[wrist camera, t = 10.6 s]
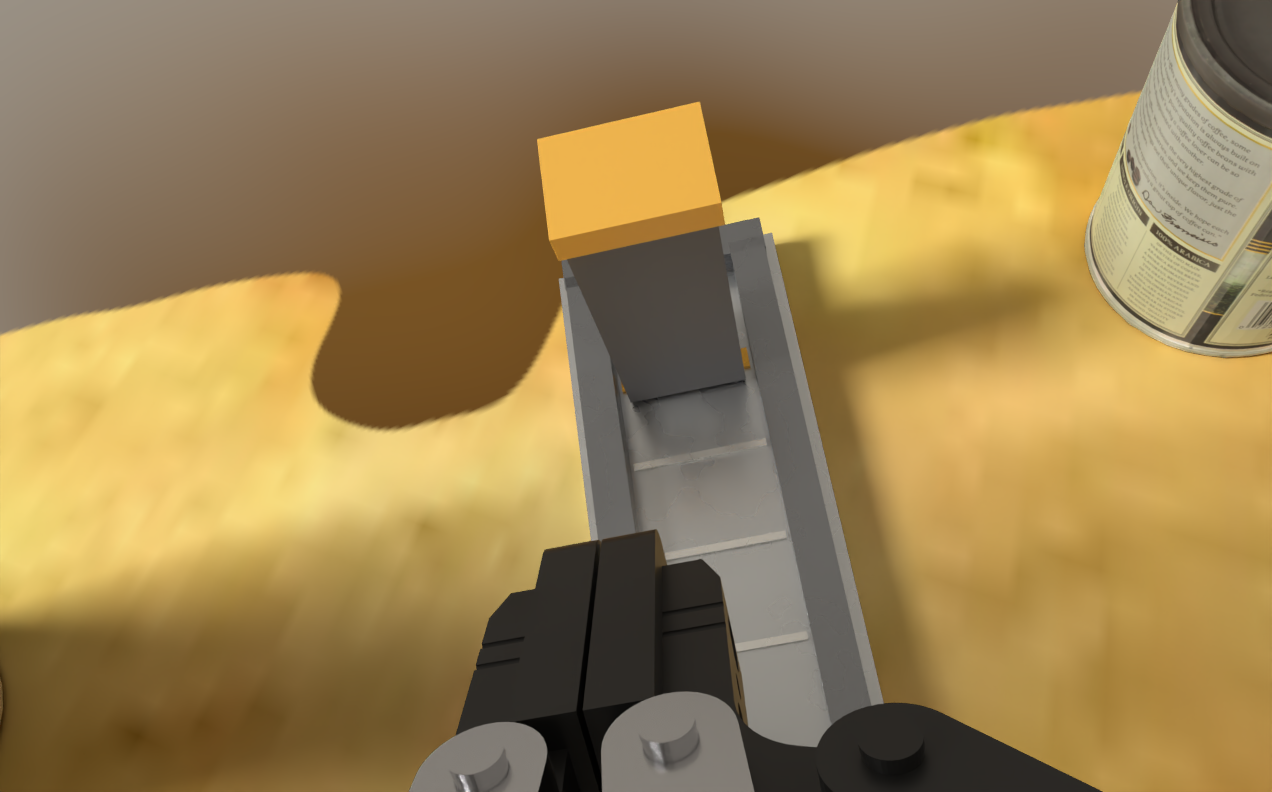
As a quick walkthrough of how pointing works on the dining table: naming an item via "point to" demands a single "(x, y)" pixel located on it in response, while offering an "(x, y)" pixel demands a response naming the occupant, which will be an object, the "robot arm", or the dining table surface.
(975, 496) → the dining table surface
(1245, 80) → the coffee can
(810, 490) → the fader console
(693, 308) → the fader tab
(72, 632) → the dining table surface
